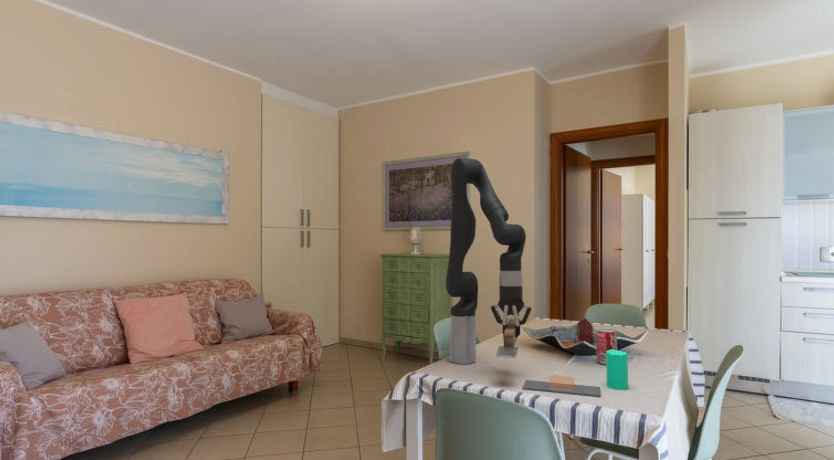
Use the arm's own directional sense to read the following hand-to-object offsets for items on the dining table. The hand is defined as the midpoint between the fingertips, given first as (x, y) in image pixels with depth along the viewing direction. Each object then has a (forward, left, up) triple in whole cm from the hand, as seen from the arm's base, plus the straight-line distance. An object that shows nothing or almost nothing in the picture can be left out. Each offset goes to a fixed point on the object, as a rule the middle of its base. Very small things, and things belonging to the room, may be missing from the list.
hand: (511, 336), depth 155 cm
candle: (+32, 0, -13) cm, 35 cm away
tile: (+16, -3, -12) cm, 20 cm away
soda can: (+30, +28, -13) cm, 43 cm away
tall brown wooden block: (0, -3, -2) cm, 4 cm away
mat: (+16, -8, -13) cm, 22 cm away
